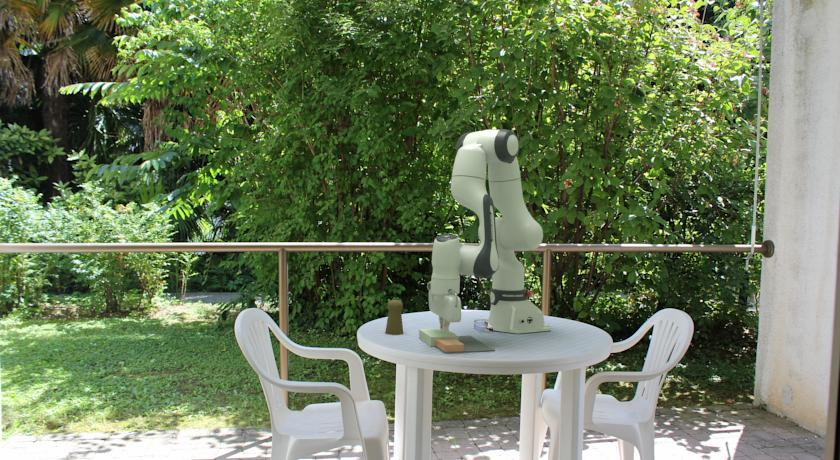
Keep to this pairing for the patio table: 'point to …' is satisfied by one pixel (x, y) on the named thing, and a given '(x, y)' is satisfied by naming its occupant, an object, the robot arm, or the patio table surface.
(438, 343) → the block
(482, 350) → the mat
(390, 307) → the cork
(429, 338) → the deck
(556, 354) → the patio table surface
